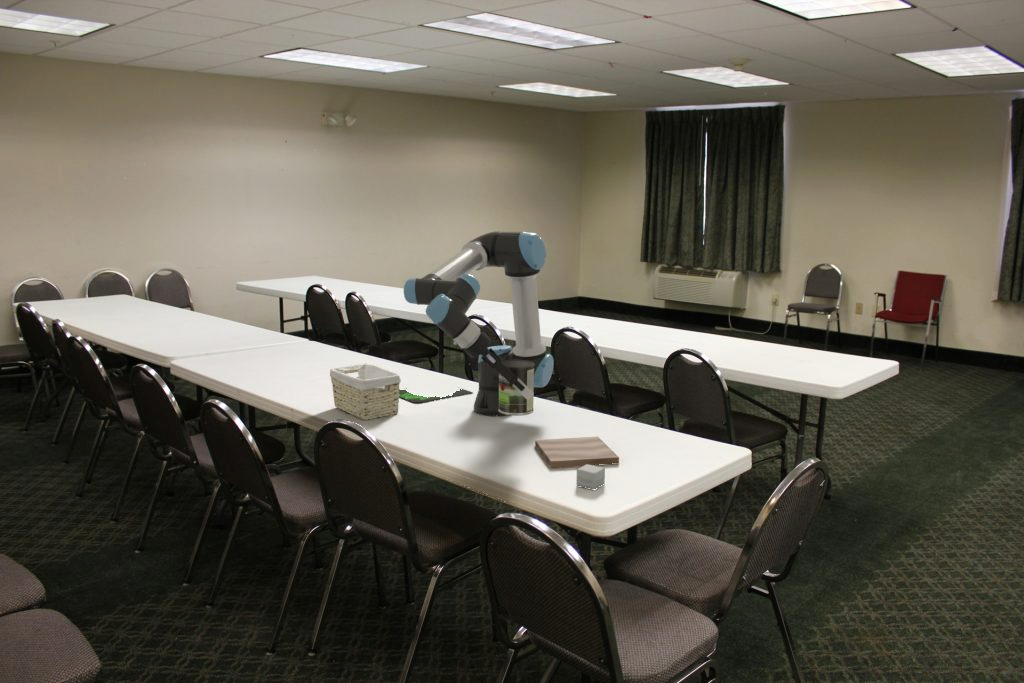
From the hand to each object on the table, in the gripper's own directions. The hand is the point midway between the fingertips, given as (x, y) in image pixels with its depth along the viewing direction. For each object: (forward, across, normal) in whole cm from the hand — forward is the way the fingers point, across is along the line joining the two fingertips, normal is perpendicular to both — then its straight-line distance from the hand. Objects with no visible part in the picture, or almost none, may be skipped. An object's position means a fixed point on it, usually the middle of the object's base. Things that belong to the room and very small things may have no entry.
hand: (526, 391), depth 227 cm
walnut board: (+25, 0, -4) cm, 25 cm away
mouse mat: (+1, -82, -29) cm, 87 cm away
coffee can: (+2, 0, -6) cm, 6 cm away
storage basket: (-17, -60, -46) cm, 78 cm away
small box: (+23, +25, -6) cm, 34 cm away
